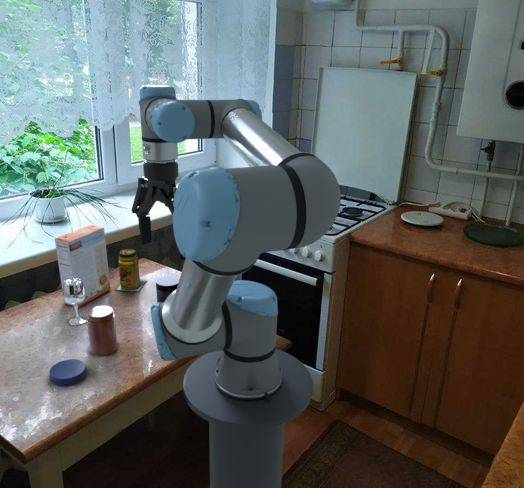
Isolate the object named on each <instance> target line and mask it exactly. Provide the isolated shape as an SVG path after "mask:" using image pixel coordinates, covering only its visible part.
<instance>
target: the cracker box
mask: <svg viewBox="0 0 524 488" xmlns="http://www.w3.org/2000/svg"><path fill="white" fill-rule="evenodd" d="M54 243H55V251H56V257H57V264H58V270H59V271H58V272H59V277H60V284H61V291H62V292H63V283H64V281H66V280H68V279H72V278H79V279H81V280H82V282H83V284H84V287H85V292H86V295H85V298H84V300H83V301H82V302H80V303H78V304H77V305H78V308H81V307H82V306H84V305H85V304H87V303H89V302H91V301H93V300H94V299H96V298H98V297H100V296H101V295H104V294H106V293H107V292H109V291H111V282H110V271H109V263H108V254H107V253H108V252H107V243H106V233H105V227H103V226H98V225H93V224H88V225H86V226H84V227H81V228H78V229H76V230H74V231H71V232H68V233H65V234H63V235H61V236H58V237H55V238H54ZM62 298H63V304H65V305H68V306H71V307H74V304H69V303H67V302H66V301H65V300H64V297H63V296H62Z"/></svg>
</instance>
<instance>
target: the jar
mask: <svg viewBox="0 0 524 488" xmlns="http://www.w3.org/2000/svg"><path fill="white" fill-rule="evenodd" d="M86 314H87V317H86V326H87V327H86V328H87V334H88V344H89V351H90V353H91V354H92V355H94V356H98V357H99V356H108V355H110V354H113V353H115V352H116V351H117V350H118V347H119V346H118V335H117V325H116V316H115V313H114V308H112V306H110V305H97V306H93V307H91V308H90V309H88V310H87V313H86Z"/></svg>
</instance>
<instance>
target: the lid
mask: <svg viewBox="0 0 524 488" xmlns="http://www.w3.org/2000/svg"><path fill="white" fill-rule="evenodd" d="M86 375H87V366H86V363H85V362H84V361H83V360H80V359H76V358H71V359H64V360H61V361H58V362H56V363H55V364H53V365H52V366H51V367H50V369H49V380H50V382H51V383H52V384H53V385H55V386H59V387H67V386H72V385H75V384H77V383H80V382H81V381H83V379H84V378H85V377H86Z"/></svg>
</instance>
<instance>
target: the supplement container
mask: <svg viewBox="0 0 524 488" xmlns="http://www.w3.org/2000/svg"><path fill="white" fill-rule="evenodd" d="M179 279H180V277H178V276H175V275H164V276H160V277H157V278H156V279H155V290H156V291H155V292H156V293H155V294H156V304H157V303H159V302H163V303H164V302H165V300H166V299H167V297H168V296H169V295H170V294H171V293H172V292H174V291H175V290H176V289H177V286H178V283H179Z"/></svg>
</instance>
